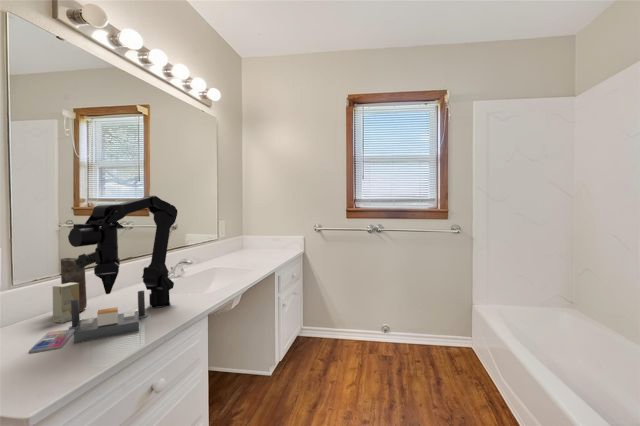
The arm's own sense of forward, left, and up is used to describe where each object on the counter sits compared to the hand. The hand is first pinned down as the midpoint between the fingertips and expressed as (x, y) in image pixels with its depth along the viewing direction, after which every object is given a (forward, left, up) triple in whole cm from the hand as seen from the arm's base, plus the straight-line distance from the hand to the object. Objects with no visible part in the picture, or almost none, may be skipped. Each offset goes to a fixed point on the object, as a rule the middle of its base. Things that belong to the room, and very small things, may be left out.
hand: (108, 290), depth 105 cm
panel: (0, +6, -11) cm, 13 cm away
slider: (0, +10, -8) cm, 12 cm away
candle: (+12, -24, -11) cm, 29 cm away
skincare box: (+13, -14, -11) cm, 22 cm away
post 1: (+9, -2, -11) cm, 14 cm away
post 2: (-9, -2, -11) cm, 15 cm away
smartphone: (+13, +7, -12) cm, 19 cm away
